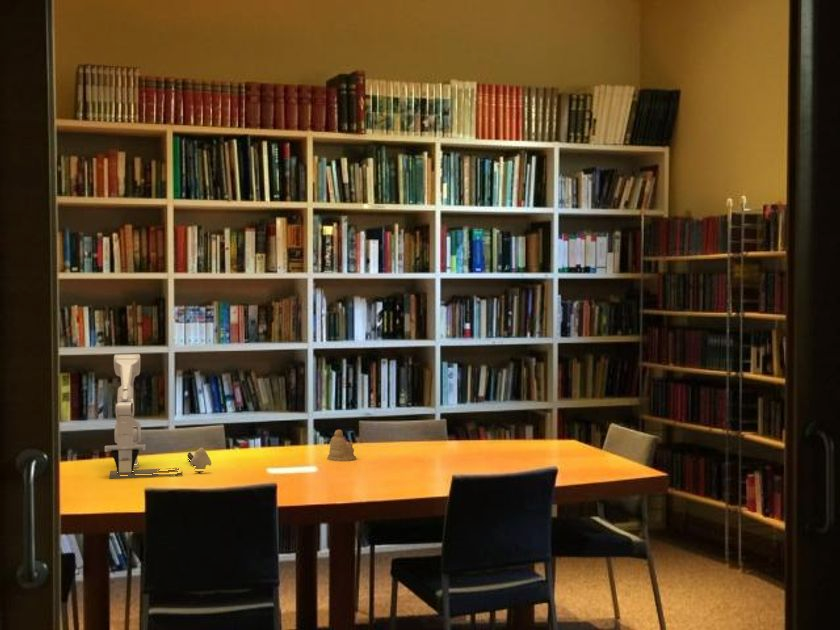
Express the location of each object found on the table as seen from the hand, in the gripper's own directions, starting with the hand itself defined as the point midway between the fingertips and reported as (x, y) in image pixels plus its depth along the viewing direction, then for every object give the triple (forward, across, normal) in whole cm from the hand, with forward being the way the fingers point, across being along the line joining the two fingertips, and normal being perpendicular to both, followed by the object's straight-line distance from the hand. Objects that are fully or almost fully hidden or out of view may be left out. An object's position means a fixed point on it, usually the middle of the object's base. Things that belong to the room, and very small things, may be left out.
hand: (125, 470), depth 397 cm
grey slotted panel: (+2, +8, 0) cm, 8 cm away
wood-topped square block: (+2, 0, 0) cm, 2 cm away
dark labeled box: (+3, +25, +19) cm, 32 cm away
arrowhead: (+2, +28, 0) cm, 28 cm away
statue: (+3, +84, +19) cm, 87 cm away
